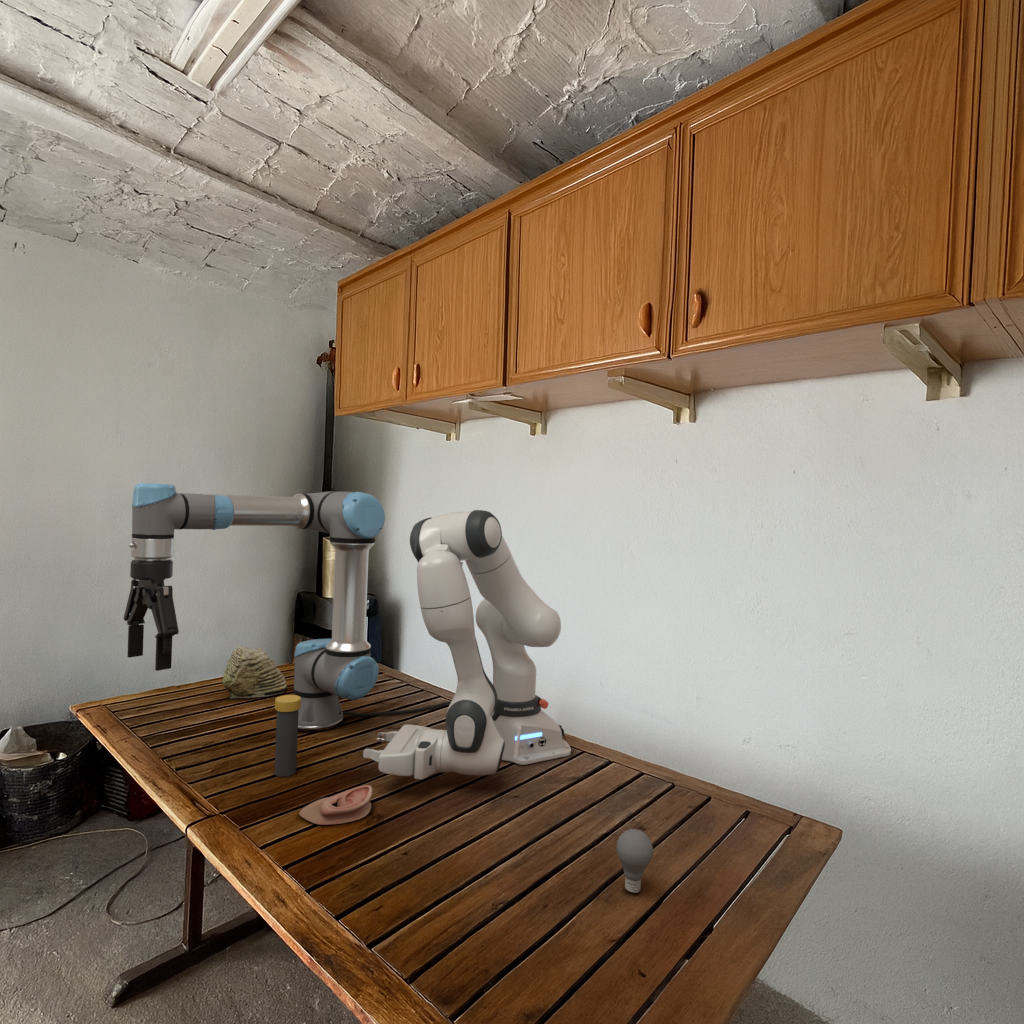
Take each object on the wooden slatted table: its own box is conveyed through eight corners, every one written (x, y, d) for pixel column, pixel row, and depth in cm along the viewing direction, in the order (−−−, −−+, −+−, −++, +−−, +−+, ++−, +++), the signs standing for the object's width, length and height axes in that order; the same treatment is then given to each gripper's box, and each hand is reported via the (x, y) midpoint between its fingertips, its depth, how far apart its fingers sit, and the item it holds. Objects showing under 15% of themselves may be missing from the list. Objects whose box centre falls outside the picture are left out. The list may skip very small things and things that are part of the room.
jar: (295, 767, 148) (298, 696, 147) (296, 775, 143) (299, 702, 143) (274, 769, 146) (277, 698, 146) (274, 777, 142) (277, 704, 141)
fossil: (218, 695, 195) (220, 647, 195) (278, 685, 208) (279, 640, 207) (228, 703, 189) (230, 653, 188) (289, 692, 201) (290, 645, 201)
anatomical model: (291, 800, 123) (320, 775, 134) (290, 820, 123) (320, 794, 134) (354, 810, 120) (379, 784, 132) (353, 830, 121) (378, 803, 132)
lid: (300, 703, 148) (300, 693, 148) (301, 711, 143) (301, 701, 143) (274, 705, 146) (275, 695, 146) (274, 713, 141) (275, 703, 141)
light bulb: (610, 879, 108) (613, 822, 108) (644, 879, 109) (647, 822, 109) (619, 902, 102) (622, 840, 102) (655, 901, 103) (658, 840, 103)
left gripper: (108, 554, 134) (104, 654, 134) (159, 565, 118) (155, 678, 119) (146, 552, 140) (143, 648, 140) (199, 563, 124) (195, 671, 124)
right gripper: (441, 720, 151) (385, 715, 153) (421, 753, 131) (356, 747, 132) (440, 746, 151) (384, 741, 153) (419, 783, 131) (355, 777, 132)
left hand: (148, 662), depth 129 cm, fingers open, 13 cm apart
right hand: (371, 744), depth 142 cm, fingers open, 8 cm apart
